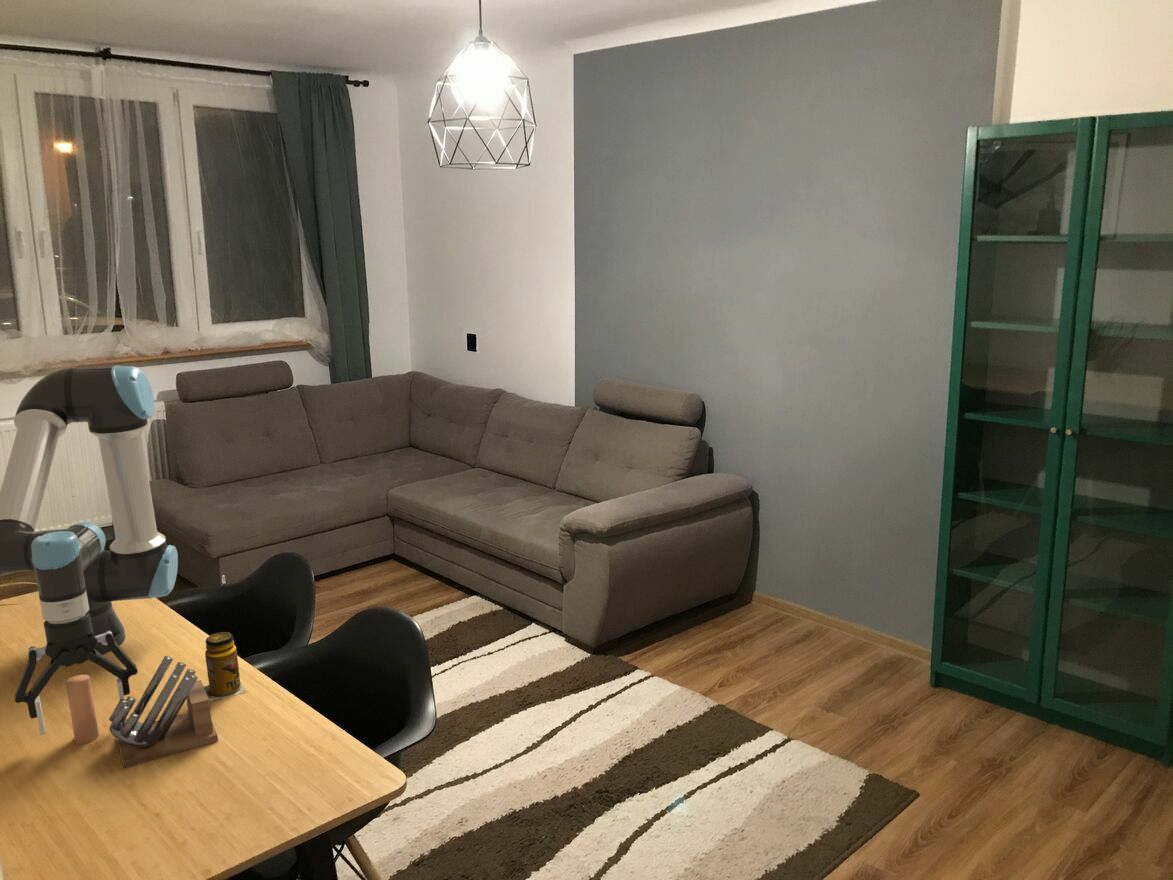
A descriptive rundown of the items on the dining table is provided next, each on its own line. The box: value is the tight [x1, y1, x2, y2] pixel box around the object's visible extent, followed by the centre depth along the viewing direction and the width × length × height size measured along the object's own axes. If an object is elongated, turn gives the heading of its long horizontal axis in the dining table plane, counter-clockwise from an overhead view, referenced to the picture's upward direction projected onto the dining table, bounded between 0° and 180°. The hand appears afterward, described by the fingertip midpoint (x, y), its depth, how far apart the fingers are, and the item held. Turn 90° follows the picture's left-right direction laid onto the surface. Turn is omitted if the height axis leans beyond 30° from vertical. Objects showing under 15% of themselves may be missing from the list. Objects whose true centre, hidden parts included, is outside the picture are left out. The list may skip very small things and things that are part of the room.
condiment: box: [203, 631, 247, 703], centre depth 191 cm, size 7×8×12 cm
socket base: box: [117, 679, 219, 769], centre depth 174 cm, size 12×16×8 cm
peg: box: [65, 674, 100, 745], centre depth 175 cm, size 4×4×12 cm
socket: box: [108, 655, 199, 749], centre depth 173 cm, size 10×16×15 cm, turn 121°
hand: (84, 721), depth 175 cm, fingers open, 13 cm apart
